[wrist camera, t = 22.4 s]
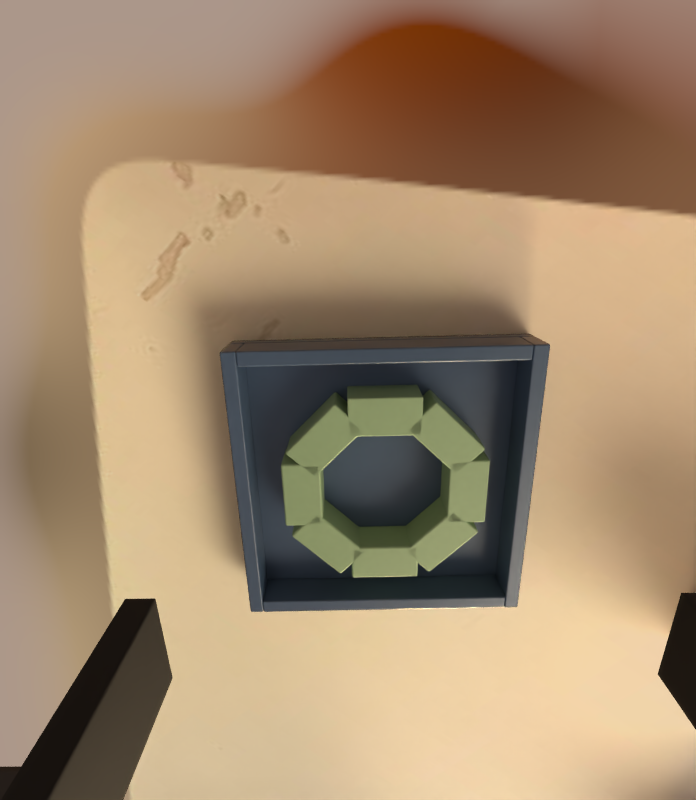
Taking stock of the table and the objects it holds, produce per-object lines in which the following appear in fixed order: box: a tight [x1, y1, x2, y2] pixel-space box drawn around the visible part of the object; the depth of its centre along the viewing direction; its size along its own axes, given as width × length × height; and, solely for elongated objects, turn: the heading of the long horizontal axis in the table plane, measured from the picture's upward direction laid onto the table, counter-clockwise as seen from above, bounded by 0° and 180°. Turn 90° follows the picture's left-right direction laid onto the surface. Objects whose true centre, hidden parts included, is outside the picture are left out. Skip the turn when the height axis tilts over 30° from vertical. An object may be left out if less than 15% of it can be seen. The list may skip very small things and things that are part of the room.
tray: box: [220, 334, 550, 612], centre depth 20 cm, size 12×12×2 cm
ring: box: [281, 385, 490, 577], centre depth 19 cm, size 8×8×2 cm
